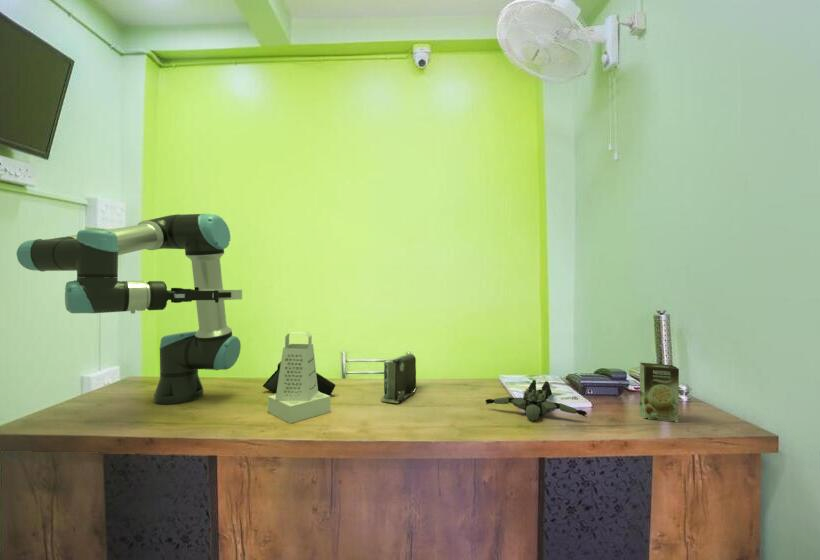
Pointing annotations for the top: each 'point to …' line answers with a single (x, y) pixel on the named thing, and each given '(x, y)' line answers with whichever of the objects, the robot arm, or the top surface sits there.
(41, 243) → the robot arm
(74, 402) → the top surface
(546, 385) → the toy
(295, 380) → the grater
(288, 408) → the pedestal
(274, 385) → the handgun
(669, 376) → the coffee box
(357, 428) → the top surface
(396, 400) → the radio
